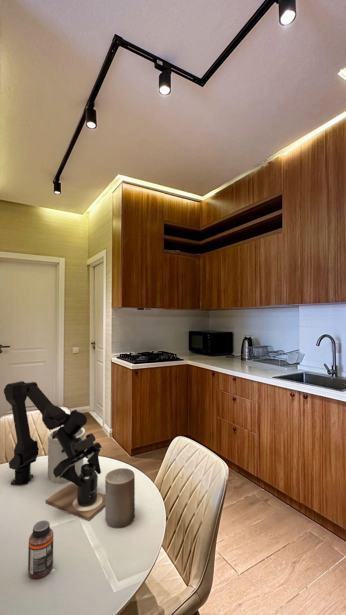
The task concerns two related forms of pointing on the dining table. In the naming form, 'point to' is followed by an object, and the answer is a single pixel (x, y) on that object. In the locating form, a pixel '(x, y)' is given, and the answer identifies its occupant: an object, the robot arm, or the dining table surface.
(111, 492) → the pillar candle
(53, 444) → the utensil holder
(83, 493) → the supplement bottle
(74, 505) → the board
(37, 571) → the supplement bottle
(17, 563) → the dining table surface
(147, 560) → the dining table surface
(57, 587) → the dining table surface
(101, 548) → the dining table surface
